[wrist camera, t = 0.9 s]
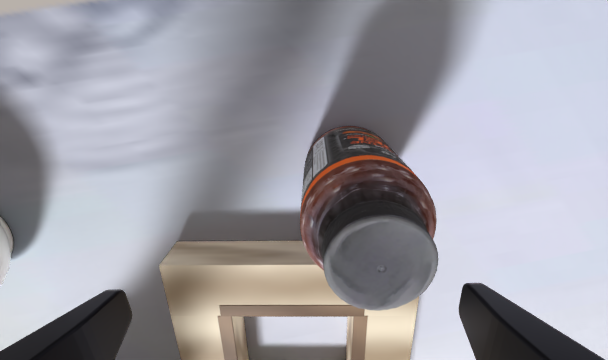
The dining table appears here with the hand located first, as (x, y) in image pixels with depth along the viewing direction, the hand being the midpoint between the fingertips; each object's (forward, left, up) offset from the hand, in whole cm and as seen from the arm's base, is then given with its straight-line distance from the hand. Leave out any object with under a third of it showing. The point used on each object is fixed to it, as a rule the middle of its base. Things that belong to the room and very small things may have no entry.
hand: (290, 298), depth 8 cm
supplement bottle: (-1, -3, -14) cm, 14 cm away
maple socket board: (-16, +1, -14) cm, 21 cm away
